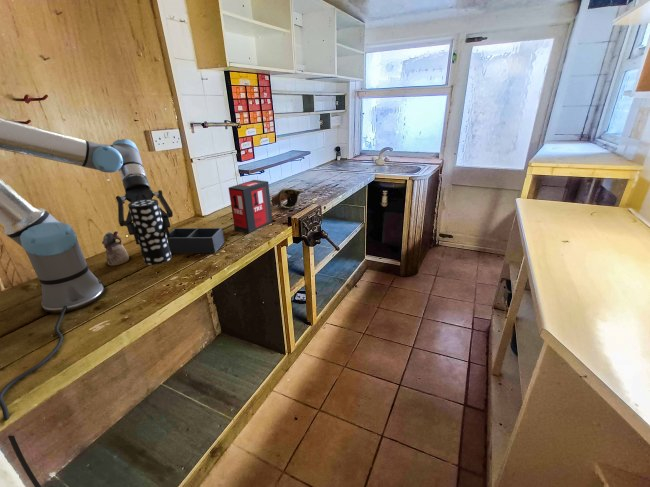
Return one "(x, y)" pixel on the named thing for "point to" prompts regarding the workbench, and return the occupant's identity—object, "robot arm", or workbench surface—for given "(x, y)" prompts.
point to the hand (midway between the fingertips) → (153, 239)
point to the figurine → (114, 249)
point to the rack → (195, 240)
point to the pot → (286, 197)
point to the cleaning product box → (250, 205)
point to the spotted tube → (150, 231)
